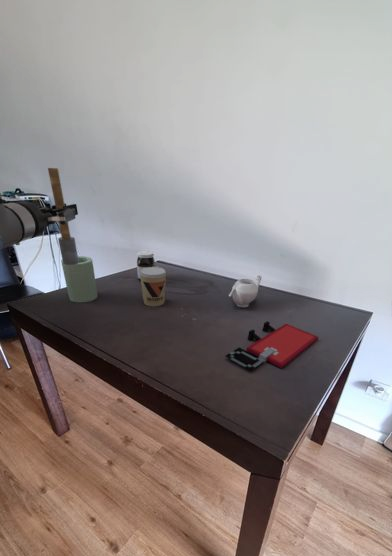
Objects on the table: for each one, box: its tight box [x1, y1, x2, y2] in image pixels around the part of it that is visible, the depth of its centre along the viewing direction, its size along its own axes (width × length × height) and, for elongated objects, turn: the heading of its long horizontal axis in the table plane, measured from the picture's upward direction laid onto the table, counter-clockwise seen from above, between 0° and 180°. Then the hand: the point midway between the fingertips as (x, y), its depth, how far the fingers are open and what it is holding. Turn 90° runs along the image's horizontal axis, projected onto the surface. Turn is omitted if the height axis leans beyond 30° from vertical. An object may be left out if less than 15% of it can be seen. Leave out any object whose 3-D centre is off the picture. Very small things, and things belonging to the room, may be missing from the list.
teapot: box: [228, 275, 262, 308], centre depth 106 cm, size 10×20×9 cm, turn 138°
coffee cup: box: [140, 266, 167, 307], centre depth 103 cm, size 9×9×12 cm
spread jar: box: [136, 250, 161, 282], centre depth 124 cm, size 12×11×12 cm
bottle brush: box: [47, 167, 79, 265], centre depth 79 cm, size 4×4×24 cm
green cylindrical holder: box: [60, 255, 99, 304], centre depth 104 cm, size 10×10×14 cm
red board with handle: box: [225, 320, 319, 371], centre depth 82 cm, size 30×3×15 cm
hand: (70, 208), depth 82 cm, fingers closed on bottle brush, 2 cm apart
